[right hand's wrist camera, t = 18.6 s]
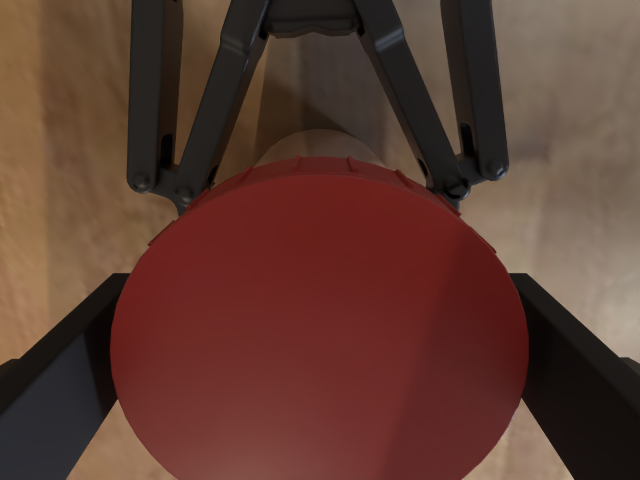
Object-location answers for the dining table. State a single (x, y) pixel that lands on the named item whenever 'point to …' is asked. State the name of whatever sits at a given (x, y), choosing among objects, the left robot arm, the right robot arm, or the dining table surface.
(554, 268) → the dining table surface
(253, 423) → the lid
